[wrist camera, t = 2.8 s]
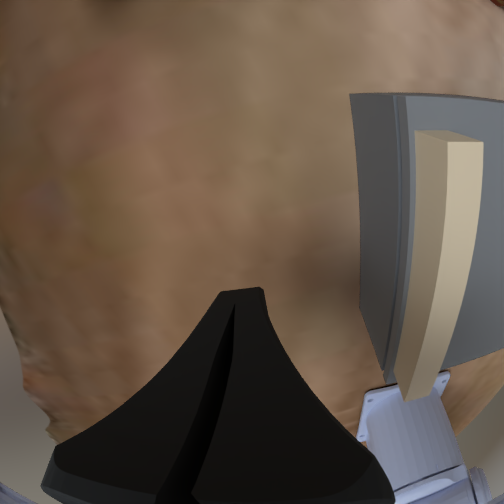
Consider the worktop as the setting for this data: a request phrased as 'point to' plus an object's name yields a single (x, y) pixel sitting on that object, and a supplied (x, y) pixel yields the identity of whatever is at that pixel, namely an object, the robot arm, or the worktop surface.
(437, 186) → the lid
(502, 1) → the carton
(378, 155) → the box
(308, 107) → the worktop surface
